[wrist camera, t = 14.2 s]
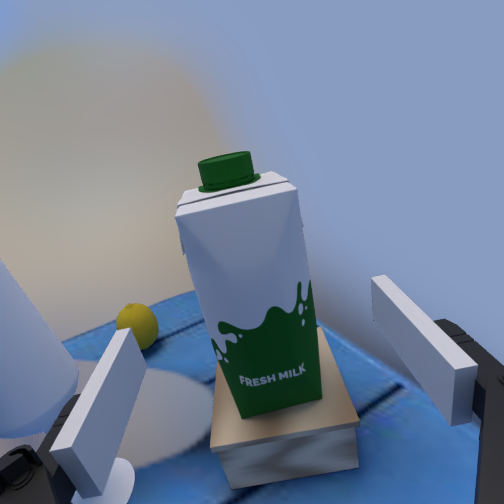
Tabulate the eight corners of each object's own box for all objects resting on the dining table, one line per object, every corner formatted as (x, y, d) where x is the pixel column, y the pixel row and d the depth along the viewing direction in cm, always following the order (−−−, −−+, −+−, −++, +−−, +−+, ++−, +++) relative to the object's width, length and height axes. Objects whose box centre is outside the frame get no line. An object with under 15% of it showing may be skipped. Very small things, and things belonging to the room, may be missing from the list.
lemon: (170, 335, 48) (154, 292, 45) (155, 361, 43) (135, 314, 40) (139, 337, 50) (121, 295, 46) (121, 362, 45) (99, 317, 41)
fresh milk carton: (305, 336, 33) (275, 142, 25) (338, 407, 25) (306, 149, 17) (226, 356, 33) (169, 166, 25) (231, 434, 24) (148, 184, 16)
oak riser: (227, 494, 26) (209, 447, 24) (230, 385, 37) (218, 346, 34) (363, 470, 25) (359, 420, 23) (326, 367, 36) (321, 326, 34)
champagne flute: (134, 517, 26) (-21, 263, 16) (47, 558, 24) (-177, 305, 15) (135, 446, 32) (24, 231, 22) (66, 475, 30) (-85, 258, 21)
